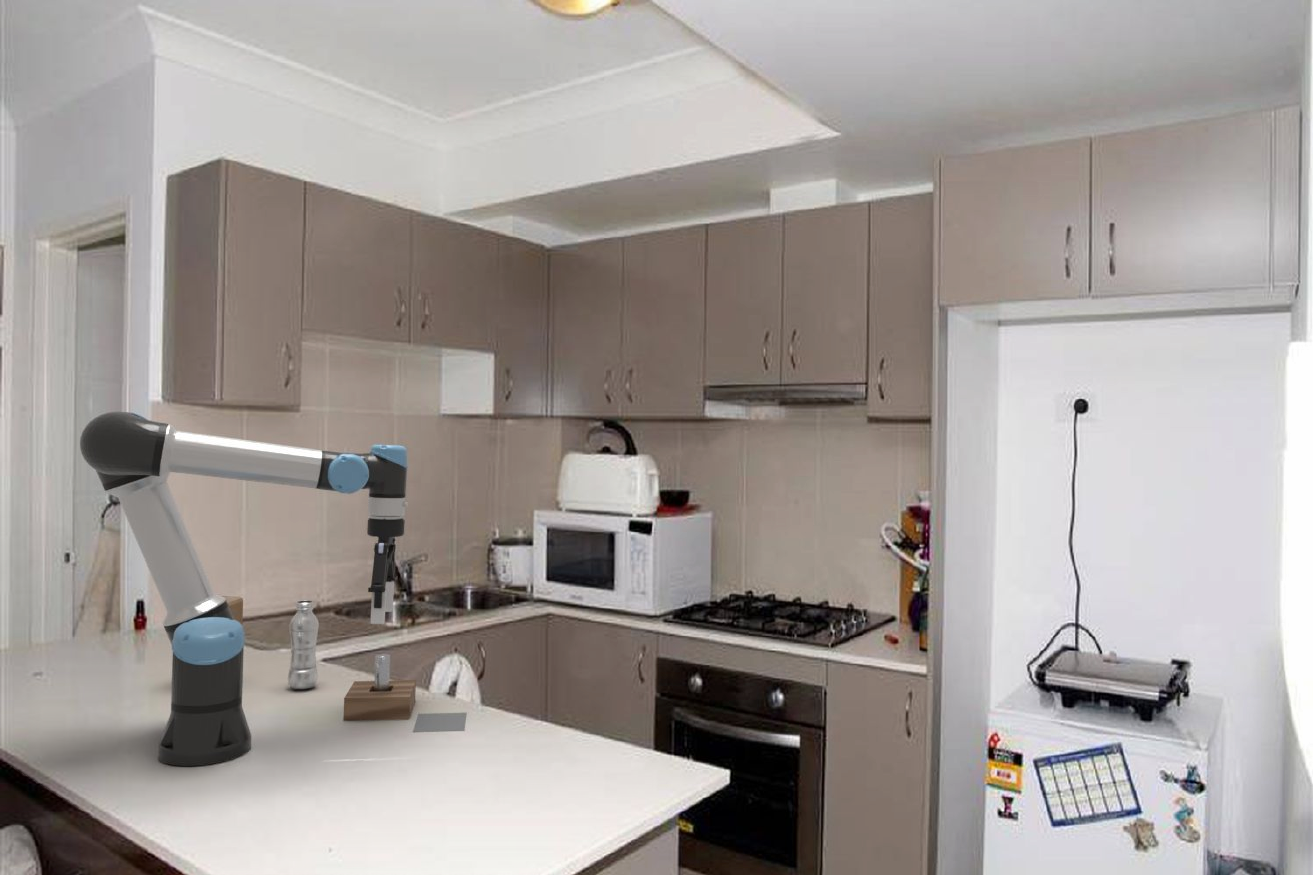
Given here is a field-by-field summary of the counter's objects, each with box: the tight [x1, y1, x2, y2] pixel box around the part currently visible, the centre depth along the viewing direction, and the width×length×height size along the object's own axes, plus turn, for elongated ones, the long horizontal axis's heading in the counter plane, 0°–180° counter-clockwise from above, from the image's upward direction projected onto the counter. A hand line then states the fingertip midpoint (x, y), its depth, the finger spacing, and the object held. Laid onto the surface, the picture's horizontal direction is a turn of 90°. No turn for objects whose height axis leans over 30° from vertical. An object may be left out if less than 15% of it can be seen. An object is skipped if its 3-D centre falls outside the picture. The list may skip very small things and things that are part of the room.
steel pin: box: [374, 653, 391, 692], centre depth 190 cm, size 3×3×12 cm
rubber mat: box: [412, 712, 468, 733], centre depth 183 cm, size 12×10×1 cm
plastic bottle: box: [287, 599, 320, 690], centre depth 206 cm, size 6×7×20 cm
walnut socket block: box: [343, 679, 417, 722], centre depth 190 cm, size 13×13×5 cm
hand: (381, 617), depth 190 cm, fingers open, 13 cm apart
